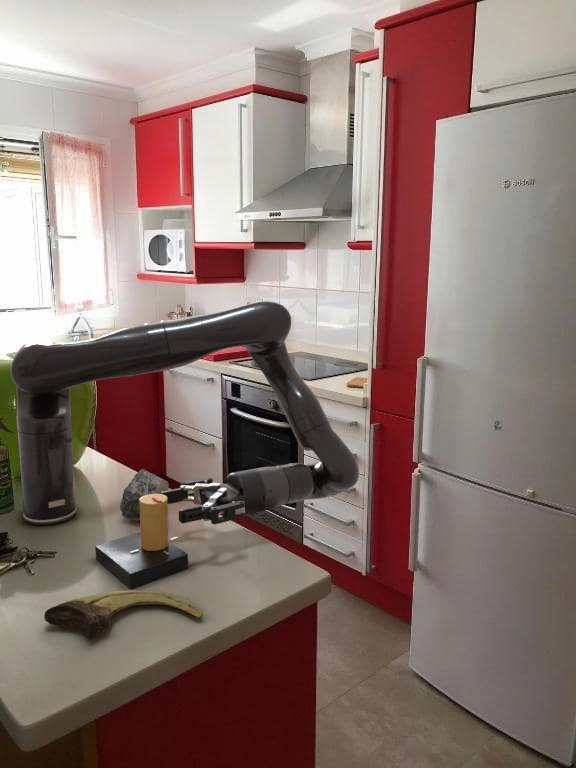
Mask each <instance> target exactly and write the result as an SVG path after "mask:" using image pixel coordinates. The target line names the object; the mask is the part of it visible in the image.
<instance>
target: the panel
mask: <svg viewBox="0 0 576 768" xmlns="http://www.w3.org/2000/svg"><path fill="white" fill-rule="evenodd" d="M178 539H179V537H178V536H175V537H172V538H170V539H169V544H168V546H167V547H166V548H164V549H162V550H158V551H147V550H144V549H143V548H142V547H141V531H139V532H136V533H133V534H129V535H126V536H122V537H119V538H117V539H114V540H110V541H106V542H103V543H99V544H96V545H95V546H94V547H95V548H94V549H95V551H94V552H95V561H97V562H98V563H99V564H100V565H102V566H103V567H104V568H105V569H106V570H107V571H109V572H110V573H111V574H112V575H113V576H114V577H115V578H117V580H119V581H120V582H122V584H124V585H125V586H126V587H127V588H128V589H130V590H134V589H136V588H138V587H141V586H144V585H146V584H150V583H153V582H155V581H158V580H160V579H163V578H166V577H168V576H171V575H174V574H177V573H179V572H182V571H185V570H188V569H189V553H187V552H185V551H184V550H182V549H181V548H180V547H178V546H177V545H175V544H173V543H172V542H171V541H174V540H178Z"/></svg>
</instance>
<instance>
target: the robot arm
mask: <svg viewBox="0 0 576 768" xmlns="http://www.w3.org/2000/svg"><path fill="white" fill-rule="evenodd" d="M291 328H292V316H291V313H290V312H289V310H288V309H287V307H285V306H284V305H283V304H281V303H279V302H277V301H273V300H258V301H254V302H251V303H247V304H243V305H240V306H237V307H234V308H229V309H226V310H222V311H218V312H213V313H211V312H210V313H205V314H197V315H191V316H185V317H178V318H171V319H163V320H159V321H158V320H157V321H153V322H147V323H141V324H137V325H133V326H129V327H125V328H123V329H119V330H117V331H114V332H111V333H109V334H106V335H102V336H100V337H97V338H93V339H90V340H89V339H88V340H85V341H77V342H69V343H67V342H66V343H57V342H54V341H52V340H49V339H44V338H38V339H33V340H30V341H27V342H26V343H24V344H23V345H22V346H21V347H20V348H19V349H18V350H17V352H16V353H15V355H14V357H13V358H12V361H11V364H10V377H11V379H12V381H13V384H15V387H16V388H15V389H16V400H17V401H16V429H17V439H18V452H19V464H20V465H19V467H20V478H21V479H20V480H21V493H22V505H23V506H22V507H23V508H22V509H23V513H22V515H23V520H24V522H26V523H28V524H31V525H37V526H47V525H49V526H50V525H56V524H59V523H63V522H66V521H68V520H71V519H72V518H73V517H75V516H76V515H77V511H78V510H77V505H76V503H77V502H76V485H75V484H76V483H75V469H74V468H75V467H74V451H73V433H72V412H71V411H72V410H71V409H72V408H71V405H72V404H71V390H70V389H71V388H74V387H76V386H77V387H78V386H81V385H84V384H88V383H92V382H95V381H96V382H97V381H100V380H107V379H116V378H124V377H131V376H132V377H133V376H139V375H145V374H153V373H159V372H163V371H169V370H173V369H177V368H180V367H184V366H187V365H189V364H192V363H194V362H197V361H200V360H201V359H204V358H206V357H208V356H211V355H213V354H215V353H217V352H219V351H222V350H227V349H231V348H237V347H244V348H245V349H246V351H247V352H248V354H249V355H250V357H251V358H252V360H253V361H254V362H255V364H256V365H257V367H258V368H259V370H260V371H261V373H262V374H263V376H264V377H265V380H266V381H267V383H268V384H269V386H270V388H271V389H272V391H273V393H274V395H275V397H276V399H277V401H278V402H279V405H280V407H281V409H282V411H283V413H284V415H285V417H286V420H287V422H288V424H289V426H290V428H291V431H292V433H293V434H294V436H295V439H296V441H297V443H298V444H299V446H300V448H301V449H302V450H303V451H306V452H311V451H313V453H314V454H315V455H316V457H317V458H318V459H319V461H316V462H313V463H309V464H308V463H307V464H304V463H301V462H294V463H293V462H292V463H287V464H281V465H275V466H262V467H257V468H251V469H246V470H239V471H234V472H231V473H229V474H228V475H227V477H226V479H225V481H224V482H223V483H219V482H214V479H213V477H204V478H197V479H191V480H184V481H180V482H179V484H180V485H179V486H180V487H178V488H173V489H169V490H167V491H162V492H161V493H160V494H163V495H165V496H167V498H168V505H170V504H176V503H177V504H178V503H181V502H192V503H193V504H194V506H188V507H183V508H180V509H179V510H178V521H179V522H180V523H181V524H188V523H192V522H197V521H202V520H203V521H204V522H209V521H210V523H211V524H212V525H218V524H223V523H227V522H231V521H235V520H238V519H242V518H245V516H247V515H251V514H256V513H261V512H264V511H265V512H266V511H270V510H274V509H277V508H280V507H283V506H286V505H290V504H294V503H299V502H303V501H305V500H318V499H319V500H320V499H326V498H330V497H334V496H337V495H338V494H341V493H342V492H345V491H347V490H349V489H352V488H353V487H354V486H356V484H357V483H358V482H359V478H360V468H359V464H358V461H357V459H356V457H355V455H354V454H353V452H352V451H351V449H349V447H348V446H347V445H346V444H345V442H344V441H343V440H342V438H341V437H340V436H339V435H338V434H337V433H336V432H335V431H334V429H333V428H332V426H331V423H330V421H329V418H328V416H327V415H326V413H325V411H324V409H323V407H322V405H321V403H320V401H319V400H318V398H317V397H316V395H315V394H314V392H313V391H312V389H311V388H310V387H309V385H308V384H307V383H306V382H305V381H304V380H303V378H302V377H301V376H300V375H299V372H298V371H297V370H296V368H295V366H294V364H293V363H292V360H291V358H290V354H289V352H288V349H287V345H286V342H285V341H286V339H287V338H288V336H289V335H290V331H291ZM222 514H223V515H222ZM221 515H222V516H221Z"/></svg>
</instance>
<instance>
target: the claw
mask: <svg viewBox="0 0 576 768" xmlns="http://www.w3.org/2000/svg"><path fill="white" fill-rule="evenodd" d="M140 605H164V606H169V607H173V608H174V609H175V608H176V609H179V610H181V611H183V612H186V613H187V614H190V615H192V616H194V617H196V618H198V619H201V618H203V617H204V614H203V612H202V611H201V609H200V608H199V607H198V606H197V605H196V604H194V603H193V602H191V601H190V600H189V599H187V598H184V597H182V596H178V595H177V594H172V593H169V592H165V591H157V590H139V589H130V590H117V591H108V592H100V593H95V594H92V595H87V596H82V597H78V598H74V599H71V600H67V601H64V602H62V603H59V604H57V605H55V606H52V607H49V608H48V609H47V610H46V611H45V612H44V618H43V619H44V621H45V622H46V623H48V624H49V625H52V626H56V627H61V628H62V627H63V628H68V629H74V630H77V631H79V632H81V633H83V634H84V635H86V636H87V639H88V640H94V639H96V637H97V635H98V634H99V632H105V631H107V630H109V628H110V626H111V621H112V615H115V613H118V612H120V611H122V610H124V609H126V608H128V607H132V606H140Z"/></svg>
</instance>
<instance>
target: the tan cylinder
mask: <svg viewBox="0 0 576 768" xmlns="http://www.w3.org/2000/svg"><path fill="white" fill-rule="evenodd" d="M139 503H140V520H139V522H140V523H139V525H140V526H139V527H140V528H139V529H140V531H139V532H141V547H142V548H143V549H144V550H147V551H158V550H162V549H164V548H166V547H167V546H168V544H169V542H170V539H169V504H168V498H167V496H165V495H163V494H148V495H145V496H142V497H141V498H140V500H139Z"/></svg>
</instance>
